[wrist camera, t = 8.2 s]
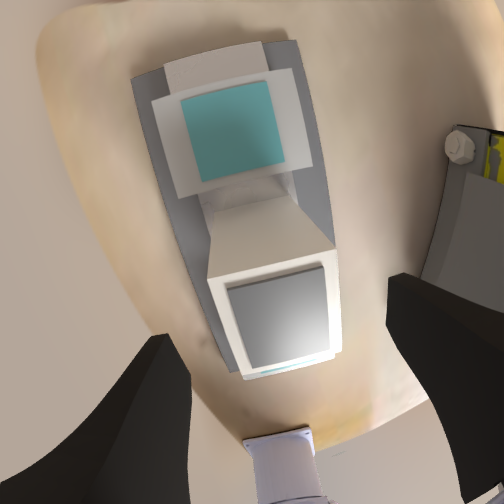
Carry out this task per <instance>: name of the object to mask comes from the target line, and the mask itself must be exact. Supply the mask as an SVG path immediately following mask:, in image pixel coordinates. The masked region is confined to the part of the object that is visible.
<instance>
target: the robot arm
mask: <svg viewBox="0 0 504 504" xmlns="http://www.w3.org/2000/svg"><path fill="white" fill-rule="evenodd" d="M386 327H387V329H388V331H389V333H390V335H391V337H392V339H393V341H394V343H395V345H396V347H397V349H398V350H399V352H400V353H401V355H402V356H403V358H404V359H405V361H406V362H407V364H408V365H409V367H410V368H411V370H412V371H413V373H414V374H415V376H416V378H417V379H418V381H419V382H420V384H421V385H422V387H423V388H424V390H425V391H426V393H427V395H428V396H429V398H430V400H431V402H432V403H433V405H434V407H435V410H436V412H437V414H438V417H439V419H440V421H441V423H442V426H443V428H444V431H445V434H446V437H447V439H448V442H449V445H450V448H451V452H452V455H453V458H454V462H455V465H456V470H457V474H458V480H459V484H460V491H461V497H462V498H463V501H464V503H465V504H467V503H469V502H471V501H473V500H474V499H476V498H478V497H479V496H481V495H483V494H484V493H486V492H488V491H489V490H491V489H492V488H494V487H495V486H497V485H498V484H499V483H500V482H501V484H502V486H503V488H504V313H502V312H498V311H496V310H493V309H490V308H487V307H485V306H482V305H479V304H477V303H474V302H472V301H469V300H467V299H465V298H462V297H460V296H458V295H455V294H453V293H451V292H449V291H446V290H444V289H442V288H440V287H437V286H435V285H433V284H431V283H428V282H426V281H424V280H422V279H419V278H417V277H414V276H412V275H409V274H406V273H401V274H398V275H395V276H392V277H389V278H388V299H387V314H386ZM191 406H192V390H191V374H190V373H189V371H188V369H187V367H186V366H185V364H184V362H183V360H182V358H181V357H180V355H179V353H178V351H177V349H176V348H175V346H174V344H173V342H172V340H171V338H170V336H169V334H168V333H166V334H160V335H155V336H151V337H150V338H149V339H148V341H147V342H146V343H145V344H144V346H143V347H142V348H141V350H140V351H139V352H138V354H137V355H136V356H135V358H134V359H133V360H132V362H131V363H130V364H129V366H128V367H127V368H126V370H125V371H124V372H123V374H122V375H121V377H120V378H119V379H118V381H117V382H116V383H115V385H114V386H113V387H112V388H111V390H110V391H109V392H108V393H107V395H106V396H105V397H104V398H103V400H102V401H101V402H100V403H99V405H98V406H97V407H96V408H95V409H94V410H93V412H92V413H91V414H90V415H89V416H88V417H87V418H86V419H85V421H83V422H82V423H81V424H80V426H79V427H78V428H77V429H76V430H75V431H74V432H73V433H71V434H70V435H69V436H68V437H67V438H66V439H65V440H64V441H63V442H61V443H60V444H59V445H58V446H57V447H56V448H54V449H53V450H52V451H51V452H50V453H48V454H47V455H46V456H44V457H43V458H42V459H40V460H39V461H37V462H36V463H34V464H33V465H32V466H30V467H28V468H27V469H25V470H23V471H22V472H20V473H18V474H16V475H14V476H12V477H11V478H9V479H7V480H5V481H2V482H1V483H0V504H191V503H190V495H189V484H188V470H187V462H188V444H189V431H190V418H191ZM242 442H243V445H244V447H245V448H246V450H247V451H248V453H249V454H250V456H251V457H252V458H253V463H254V472H255V480H256V489H257V497H258V504H339V503H337V502H335V501H334V500H329V501H328V499H327V496H323V492H322V488H321V484H320V480H319V476H318V472H317V469H316V465H315V461H314V457H313V456H314V455H315V451H314V445H313V438H312V432H311V428H310V427H305V428H301V429H297V430H293V431H289V432H284V433H280V434H275V435H270V436H265V437H259V438H253V439H247V440H244V441H242ZM486 504H504V490H502V491H501V492H500V493H499V494H497V495H496V496H495V497H494V498H492V499H491V500H490V501H489V502H487V503H486Z"/></svg>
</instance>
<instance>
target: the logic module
mask: <svg viewBox="0 0 504 504" xmlns="http://www.w3.org/2000/svg"><path fill="white" fill-rule="evenodd" d="M207 281H208V284H209V287H210V290H211V293H212V296H213V299H214V302H215V305H216V307H217V310H218V313H219V316H220V319H221V321H222V324H223V327H224V330H225V332H226V335H227V338H228V341H229V343H230V346H231V349H232V351H233V354H234V357H235V359H236V362H237V364H238V367H239V370H240V372H241V375H247V374H252V373H257V372H262V371H266V370H271V369H275V368H280V367H284V366H288V365H292V364H296V363H300V362H304V361H308V360H312V359H315V358H319V357H323V356H326V355H330V354H333V353H336V352H340V351H342V348H341V309H340V289H339V273H338V260H337V249H336V247H335V246H334V245H333V244H332V243H331V242H330V240H329V239H328V238H327V237H326V236H325V235H324V234H323V232H322V231H321V230H320V229H319V228H318V227H317V226H316V225H315V223H314V222H313V221H312V220H311V219H310V218H309V217H308V216H307V215H306V213H305V212H304V211H303V210H302V209H301V208H300V207H299V206H298V205H297V204H296V203H295V201H294V200H293V199H292V198H291V197H290V196H289V195H288V196H283V197H278V198H274V199H269V200H265V201H260V202H256V203H252V204H247V205H243V206H239V207H235V208H231V209H226V210H222V211H218V212H214V220H213V228H212V236H211V245H210V254H209V263H208V273H207Z"/></svg>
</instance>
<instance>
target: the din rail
mask: <svg viewBox="0 0 504 504" xmlns="http://www.w3.org/2000/svg"><path fill="white" fill-rule="evenodd" d="M163 65H164V69H165V74H166V78H167V82H168V86H169V90H170V94H175V93H178V92H181V91H184V90H188V89H191V88H195V87H198V86H202V85H206V84H210V83H214V82H218V81H222V80H226V79H231V78H235V77H240V76H245V75H250V74H256V73H261V72H267V71H269V69H268V65H267V61H266V57H265V54H264V50H263V46H262V43H261V41H257V42H250V43H245V44H239V45H234V46H229V47H224V48H220V49H215V50H211V51H207V52H203V53H199V54H195V55H192V56H188V57H185V58H181V59H178V60H175V61H171V62H168V63H165V64H163ZM288 195H289V196H290V197H291V198H292V199H293V200H294V201H295V203H296V204H297V205H298V200H297V195H296V189H295V184H294V179H293V174H292V171H288V172H283V173H279V174H274V175H270V176H265V177H261V178H257V179H252V180H248V181H244V182H240V183H236V184H232V185H228V186H224V187H220V188H217V189H213V190H209V191H205V192H202V193H198V197H199V201H200V204H201V208H202V211H203V214H204V218H205V221H206V224H207V228H208V231H209V234H210V237H211V236H212V228H213V220H214V212H218V211H222V210H226V209H231V208H235V207H239V206H243V205H247V204H252V203H256V202H260V201H265V200H269V199H274V198H278V197H283V196H288Z"/></svg>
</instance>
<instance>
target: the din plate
mask: <svg viewBox="0 0 504 504" xmlns="http://www.w3.org/2000/svg"><path fill="white" fill-rule="evenodd" d="M262 46H263V50H264V54H265V57H266V61H267V65H268V69H269V71H273V70H280V69H288V68H292V72H293V76H294V80H295V84H296V88H297V92H298V96H299V101H300V105H301V109H302V114H303V118H304V123H305V128H306V133H307V138H308V143H309V148H310V153H311V158H312V164H313V166H312V167H307V168H302V169H297V170H293V171H292V174H293V179H294V184H295V189H296V195H297V200H298V206H299V207H300V208H301V209H302V210H303V211H304V212H305V213H306V215H307V216H308V217H309V218H310V219H311V220H312V221H313V222H314V223H315V225H316V226H317V227H318V228H319V229H320V230H321V231H322V232H323V234H324V235H325V236H326V237H327V238H328V239H329V240H330V242H331V243H332V244H333V245H334V246H335V247H336V245H335V236H334V228H333V220H332V212H331V204H330V197H329V190H328V184H327V177H326V171H325V165H324V160H323V154H322V148H321V143H320V138H319V133H318V128H317V123H316V118H315V113H314V109H313V104H312V100H311V95H310V91H309V87H308V83H307V79H306V75H305V71H304V67H303V63H302V59H301V55H300V52H299V48H298V45H297V41H296V40H288V41H279V42H271V43H263V44H262ZM131 84H132V88H133V92H134V97H135V101H136V105H137V109H138V113H139V117H140V121H141V125H142V128H143V132H144V136H145V139H146V143H147V147H148V150H149V154H150V157H151V161H152V164H153V168H154V171H155V174H156V178H157V181H158V184H159V187H160V191H161V194H162V197H163V200H164V203H165V206H166V209H167V212H168V215H169V218H170V221H171V224H172V227H173V230H174V233H175V236H176V239H177V242H178V245H179V247H180V250H181V253H182V256H183V259H184V261H185V264H186V267H187V269H188V272H189V275H190V278H191V280H192V283H193V285H194V288H195V291H196V293H197V296H198V298H199V301H200V303H201V306H202V308H203V311H204V313H205V316H206V318H207V321H208V323H209V326H210V328H211V330H212V333H213V335H214V338H215V340H216V342H217V345H218V347H219V349H220V352H221V354H222V356H223V358H224V361H225V363H226V365H227V367H228V370H229V372H230V373H231V372H236V371H240V370H239V367H238V364H237V362H236V359H235V357H234V354H233V352H232V349H231V347H230V344H229V342H228V339H227V337H226V334H225V332H224V327H223V324H222V321H221V319H220V316H219V313H218V310H217V307H216V305H215V302H214V299H213V296H212V293H211V290H210V287H209V284H208V281H207V273H208V263H209V254H210V245H211V237H210V234H209V231H208V228H207V224H206V221H205V218H204V214H203V211H202V208H201V204H200V201H199V197H198V194H194V195H191V196H187V197H184V198H180V199H178V196H177V192H176V189H175V186H174V183H173V179H172V176H171V172H170V169H169V166H168V162H167V159H166V155H165V152H164V148H163V144H162V141H161V137H160V133H159V130H158V126H157V122H156V118H155V114H154V110H153V106H152V102H151V101H154V100H156V99H159V98H162V97H165V96H168V95H171V94H170V90H169V86H168V82H167V78H166V74H165V69H164V67H163V68H160V69H157V70H154V71H151V72H148V73H146V74H143V75H140V76H138V77H135V78H133V79H131ZM340 309H341V306H340ZM341 345H342V326H341Z"/></svg>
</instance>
